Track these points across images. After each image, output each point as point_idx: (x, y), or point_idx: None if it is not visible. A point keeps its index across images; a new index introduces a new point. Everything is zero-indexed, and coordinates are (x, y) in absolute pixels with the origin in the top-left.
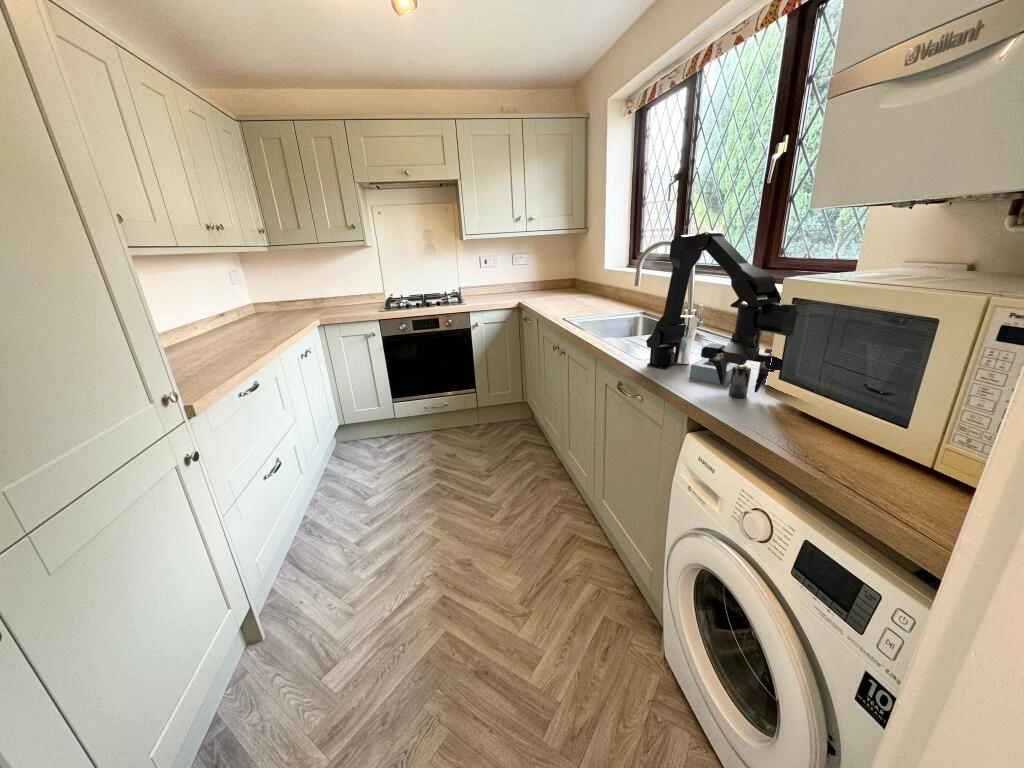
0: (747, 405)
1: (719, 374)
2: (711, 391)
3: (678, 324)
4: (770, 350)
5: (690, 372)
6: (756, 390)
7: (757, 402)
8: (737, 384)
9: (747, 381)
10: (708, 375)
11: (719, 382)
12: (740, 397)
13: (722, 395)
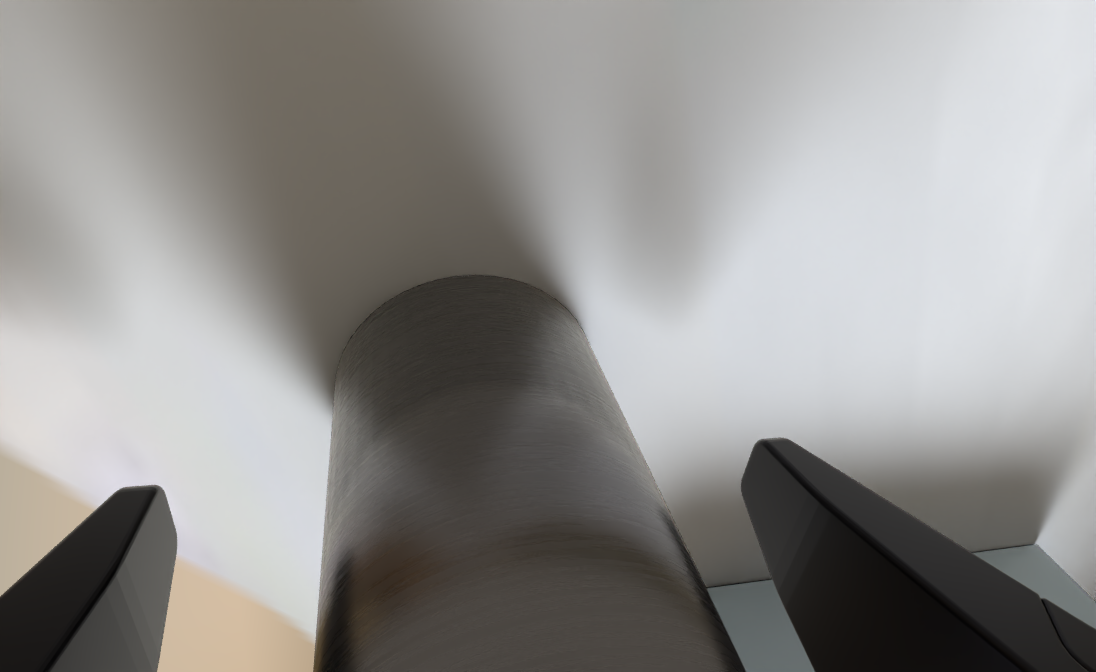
0: (107, 23)
1: (985, 585)
2: (824, 326)
3: None
4: None
5: (1090, 602)
6: (96, 516)
7: (78, 318)
8: (506, 459)
9: (319, 651)
10: None
11: (759, 600)
12: (388, 315)
13: (664, 270)
